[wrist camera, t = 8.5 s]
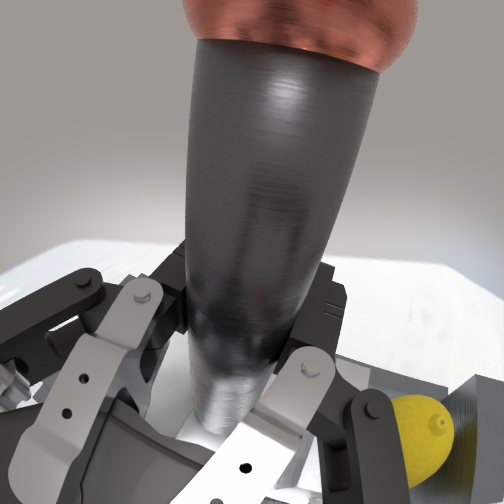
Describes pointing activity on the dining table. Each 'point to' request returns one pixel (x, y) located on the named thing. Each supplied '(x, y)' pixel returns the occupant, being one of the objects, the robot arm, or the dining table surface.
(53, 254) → the dining table surface
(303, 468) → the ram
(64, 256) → the dining table surface
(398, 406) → the lemon
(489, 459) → the frame
